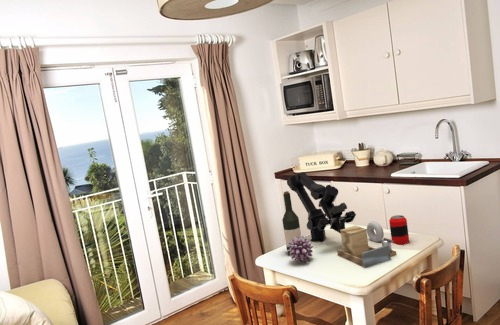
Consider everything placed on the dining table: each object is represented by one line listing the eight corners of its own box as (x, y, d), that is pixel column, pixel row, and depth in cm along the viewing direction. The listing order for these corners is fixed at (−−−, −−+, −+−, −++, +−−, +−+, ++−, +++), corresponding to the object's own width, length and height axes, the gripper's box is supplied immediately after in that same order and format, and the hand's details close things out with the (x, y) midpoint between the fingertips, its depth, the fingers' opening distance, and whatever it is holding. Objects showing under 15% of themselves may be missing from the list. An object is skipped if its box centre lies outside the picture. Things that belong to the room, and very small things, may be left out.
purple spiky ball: (317, 256, 194) (314, 231, 192) (312, 266, 182) (308, 240, 181) (293, 257, 198) (289, 232, 196) (286, 267, 187) (282, 241, 185)
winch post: (379, 256, 182) (377, 238, 181) (388, 253, 184) (386, 235, 183) (389, 260, 176) (387, 242, 175) (399, 257, 178) (396, 239, 177)
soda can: (412, 242, 192) (409, 217, 190) (396, 246, 191) (393, 220, 189) (404, 238, 199) (401, 213, 198) (389, 241, 198) (385, 216, 197)
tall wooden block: (343, 254, 189) (339, 230, 188) (358, 249, 192) (355, 225, 191) (354, 258, 181) (350, 233, 180) (369, 253, 184) (366, 229, 183)
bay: (337, 256, 190) (335, 242, 189) (361, 248, 194) (359, 235, 193) (365, 269, 171) (363, 253, 170) (391, 260, 175) (389, 245, 174)
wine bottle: (290, 249, 209) (281, 190, 206) (306, 249, 205) (297, 189, 202) (284, 255, 202) (274, 194, 198) (300, 255, 198) (291, 193, 195)
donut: (386, 243, 196) (383, 222, 195) (380, 245, 195) (378, 224, 194) (372, 238, 205) (369, 219, 204) (366, 240, 204) (363, 220, 203)
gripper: (316, 202, 192) (333, 230, 183) (350, 194, 199) (368, 220, 190) (310, 216, 200) (326, 244, 191) (343, 207, 207) (360, 234, 198)
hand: (345, 235), depth 192 cm, fingers closed
